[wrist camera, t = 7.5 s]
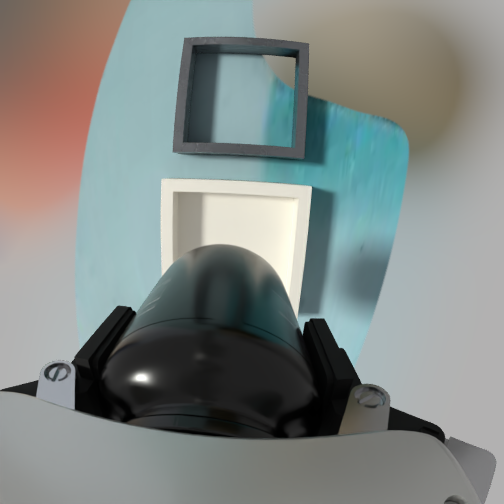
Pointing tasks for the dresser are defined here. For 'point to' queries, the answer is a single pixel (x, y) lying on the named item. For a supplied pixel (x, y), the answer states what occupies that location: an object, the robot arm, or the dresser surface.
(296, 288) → the white square tray
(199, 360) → the supplement bottle
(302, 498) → the robot arm
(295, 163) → the dresser surface
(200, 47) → the frame
